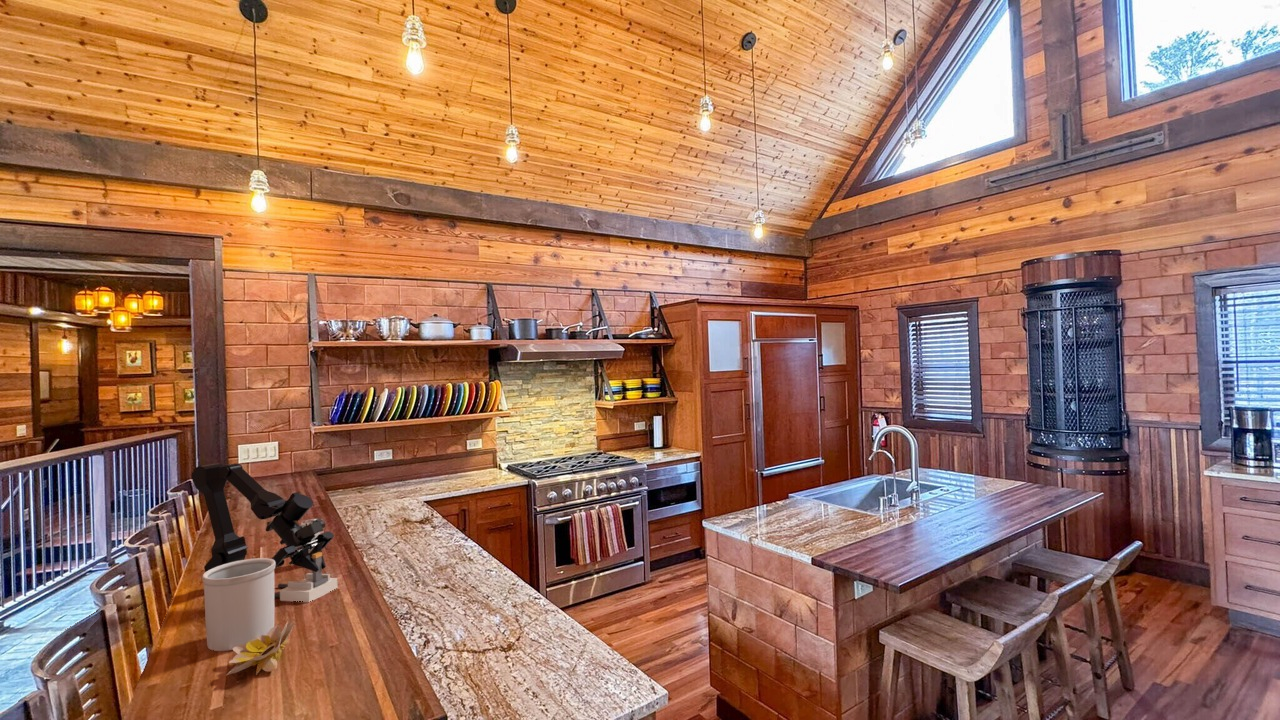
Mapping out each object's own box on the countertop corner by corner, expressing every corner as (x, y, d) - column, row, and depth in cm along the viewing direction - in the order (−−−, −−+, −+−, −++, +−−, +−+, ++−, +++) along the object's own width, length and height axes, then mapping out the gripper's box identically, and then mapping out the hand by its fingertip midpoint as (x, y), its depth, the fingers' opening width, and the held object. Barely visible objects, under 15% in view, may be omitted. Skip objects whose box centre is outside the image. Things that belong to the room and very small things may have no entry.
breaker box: (253, 598, 163) (253, 582, 163) (284, 584, 174) (284, 569, 174) (309, 602, 159) (309, 585, 159) (337, 587, 170) (337, 572, 170)
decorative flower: (236, 647, 129) (247, 604, 130) (291, 648, 133) (301, 607, 134) (214, 684, 115) (226, 636, 116) (276, 684, 119) (287, 638, 120)
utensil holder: (238, 655, 129) (237, 579, 129) (186, 650, 132) (186, 576, 132) (290, 626, 143) (289, 559, 144) (242, 623, 146) (242, 556, 147)
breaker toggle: (306, 586, 163) (306, 556, 163) (319, 580, 168) (319, 550, 168) (315, 586, 162) (314, 556, 162) (328, 580, 167) (327, 551, 167)
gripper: (279, 520, 157) (312, 561, 154) (328, 505, 175) (359, 541, 173) (256, 547, 158) (289, 588, 156) (307, 529, 177) (338, 565, 174)
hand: (321, 569), depth 165 cm, fingers closed on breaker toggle, 2 cm apart
